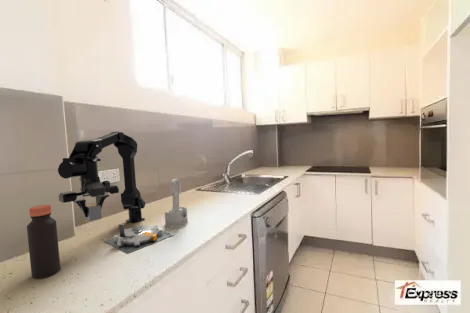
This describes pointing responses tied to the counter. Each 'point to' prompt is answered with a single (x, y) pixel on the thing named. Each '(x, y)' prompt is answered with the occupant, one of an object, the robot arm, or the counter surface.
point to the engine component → (176, 208)
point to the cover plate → (133, 248)
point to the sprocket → (137, 235)
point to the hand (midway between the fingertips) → (92, 215)
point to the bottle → (43, 242)
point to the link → (93, 212)
